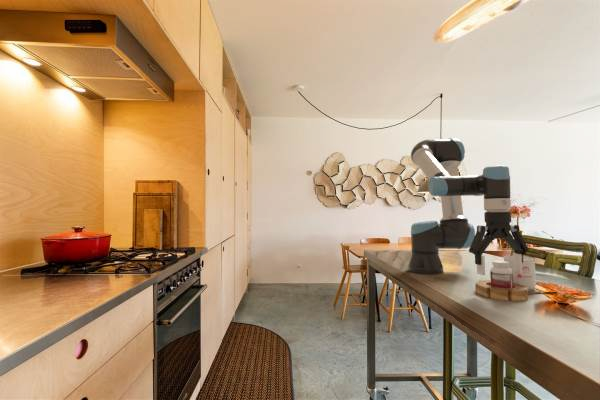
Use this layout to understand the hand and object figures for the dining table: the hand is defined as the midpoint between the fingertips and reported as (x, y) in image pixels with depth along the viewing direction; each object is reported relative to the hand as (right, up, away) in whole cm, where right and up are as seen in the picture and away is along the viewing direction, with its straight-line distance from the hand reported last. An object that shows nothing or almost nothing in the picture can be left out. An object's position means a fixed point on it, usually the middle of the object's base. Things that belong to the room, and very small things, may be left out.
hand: (499, 273), depth 96 cm
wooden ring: (0, -7, 0) cm, 7 cm away
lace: (+14, -7, 0) cm, 15 cm away
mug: (+10, -7, +7) cm, 14 cm away
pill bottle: (0, -7, -1) cm, 7 cm away
